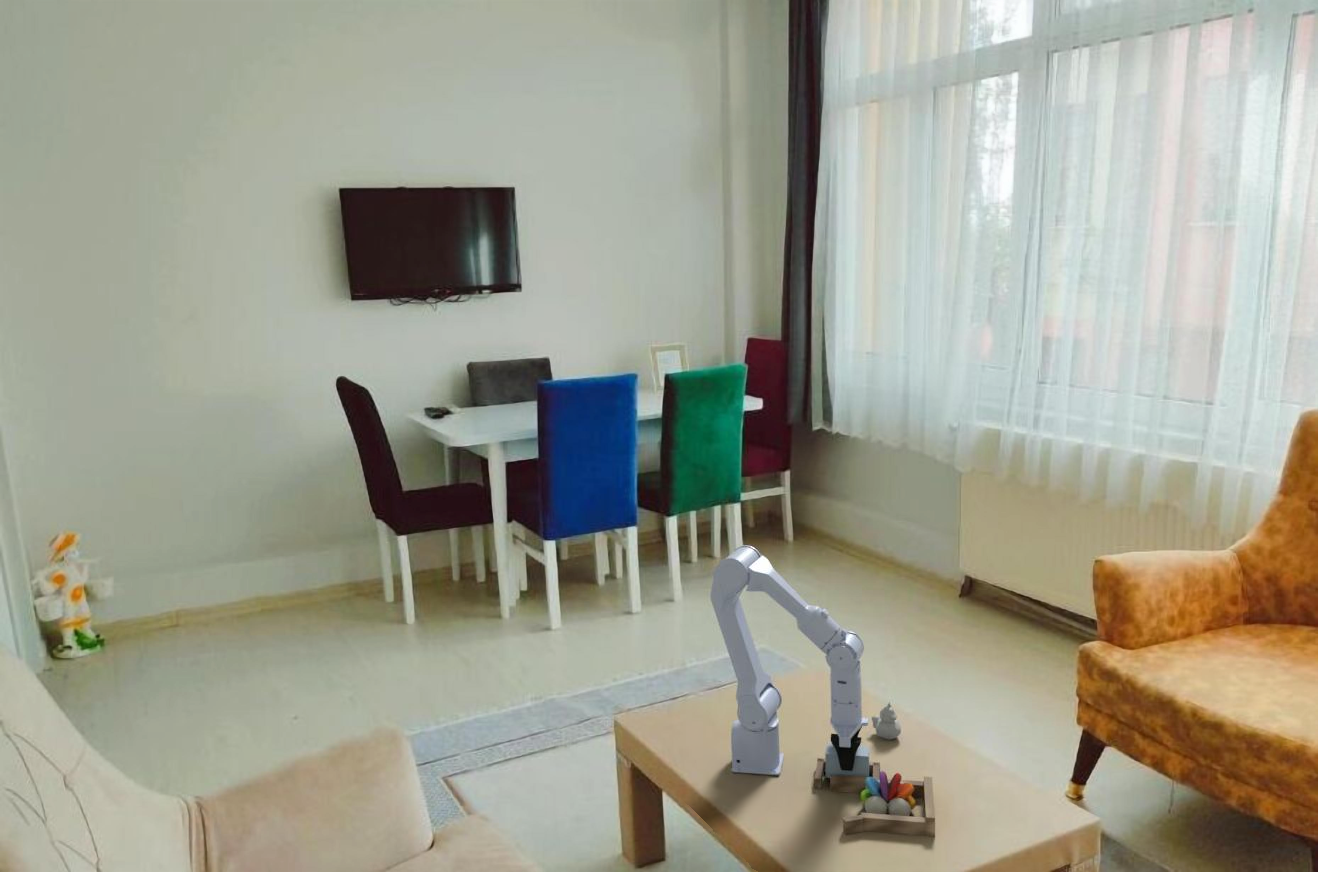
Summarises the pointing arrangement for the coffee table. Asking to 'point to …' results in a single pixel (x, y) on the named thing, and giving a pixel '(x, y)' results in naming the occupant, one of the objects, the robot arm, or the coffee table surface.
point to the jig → (882, 820)
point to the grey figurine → (886, 723)
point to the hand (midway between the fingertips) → (847, 763)
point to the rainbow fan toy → (888, 796)
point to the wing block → (859, 764)
